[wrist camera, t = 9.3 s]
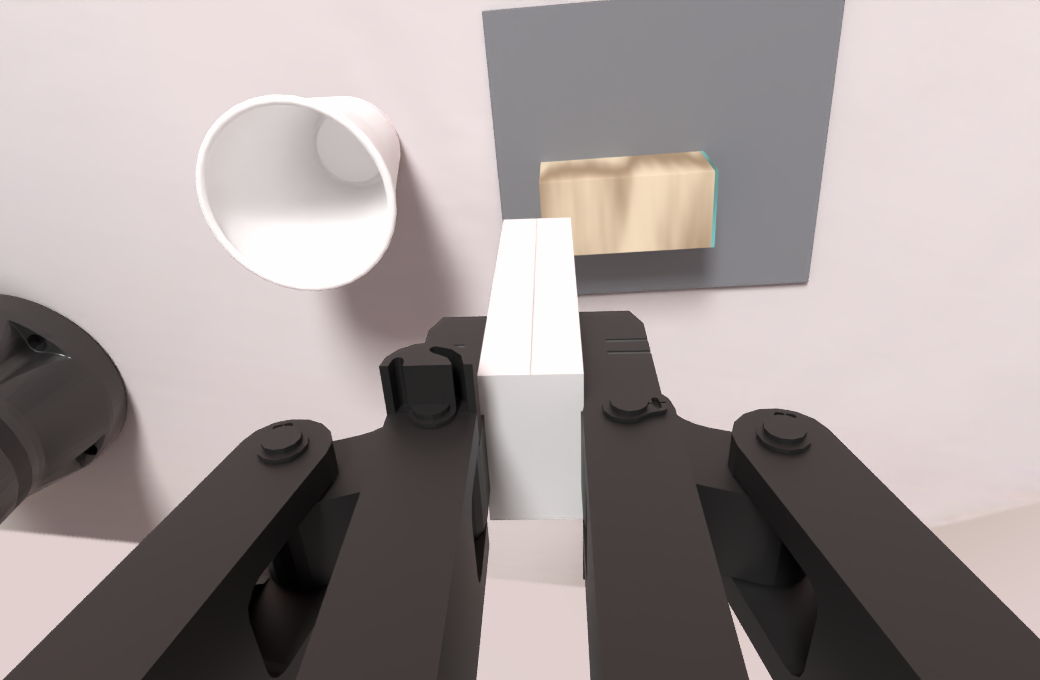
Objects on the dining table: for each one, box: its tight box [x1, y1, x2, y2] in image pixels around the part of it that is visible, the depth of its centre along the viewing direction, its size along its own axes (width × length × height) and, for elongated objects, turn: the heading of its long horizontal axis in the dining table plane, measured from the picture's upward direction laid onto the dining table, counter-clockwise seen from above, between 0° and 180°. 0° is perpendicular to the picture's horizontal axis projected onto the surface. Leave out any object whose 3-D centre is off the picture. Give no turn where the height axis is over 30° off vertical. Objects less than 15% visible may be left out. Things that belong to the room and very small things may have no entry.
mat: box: [482, 0, 845, 295], centre depth 43 cm, size 20×18×1 cm
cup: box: [196, 95, 400, 291], centre depth 39 cm, size 10×10×11 cm
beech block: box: [539, 151, 719, 255], centre depth 42 cm, size 4×4×10 cm
